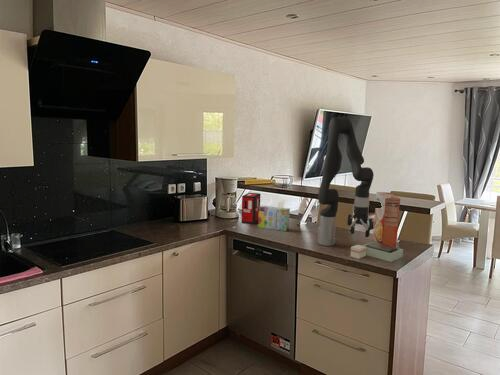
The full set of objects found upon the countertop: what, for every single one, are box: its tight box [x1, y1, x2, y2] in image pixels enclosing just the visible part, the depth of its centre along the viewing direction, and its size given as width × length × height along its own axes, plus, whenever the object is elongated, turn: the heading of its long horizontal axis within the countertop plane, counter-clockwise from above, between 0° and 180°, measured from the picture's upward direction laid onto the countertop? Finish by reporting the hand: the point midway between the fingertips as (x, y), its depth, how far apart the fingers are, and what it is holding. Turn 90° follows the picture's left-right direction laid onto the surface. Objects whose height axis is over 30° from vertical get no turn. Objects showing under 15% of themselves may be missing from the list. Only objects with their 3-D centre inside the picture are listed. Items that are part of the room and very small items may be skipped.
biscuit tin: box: [368, 242, 398, 253], centre depth 205 cm, size 12×9×5 cm
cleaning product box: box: [241, 192, 261, 225], centre depth 279 cm, size 16×9×20 cm, turn 163°
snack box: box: [257, 204, 291, 232], centre depth 259 cm, size 21×6×15 cm, turn 63°
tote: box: [361, 241, 404, 263], centre depth 206 cm, size 18×13×5 cm
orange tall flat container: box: [372, 191, 401, 247], centre depth 228 cm, size 23×8×30 cm, turn 174°
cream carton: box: [350, 244, 367, 259], centre depth 203 cm, size 5×7×6 cm
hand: (359, 235), depth 201 cm, fingers open, 8 cm apart
